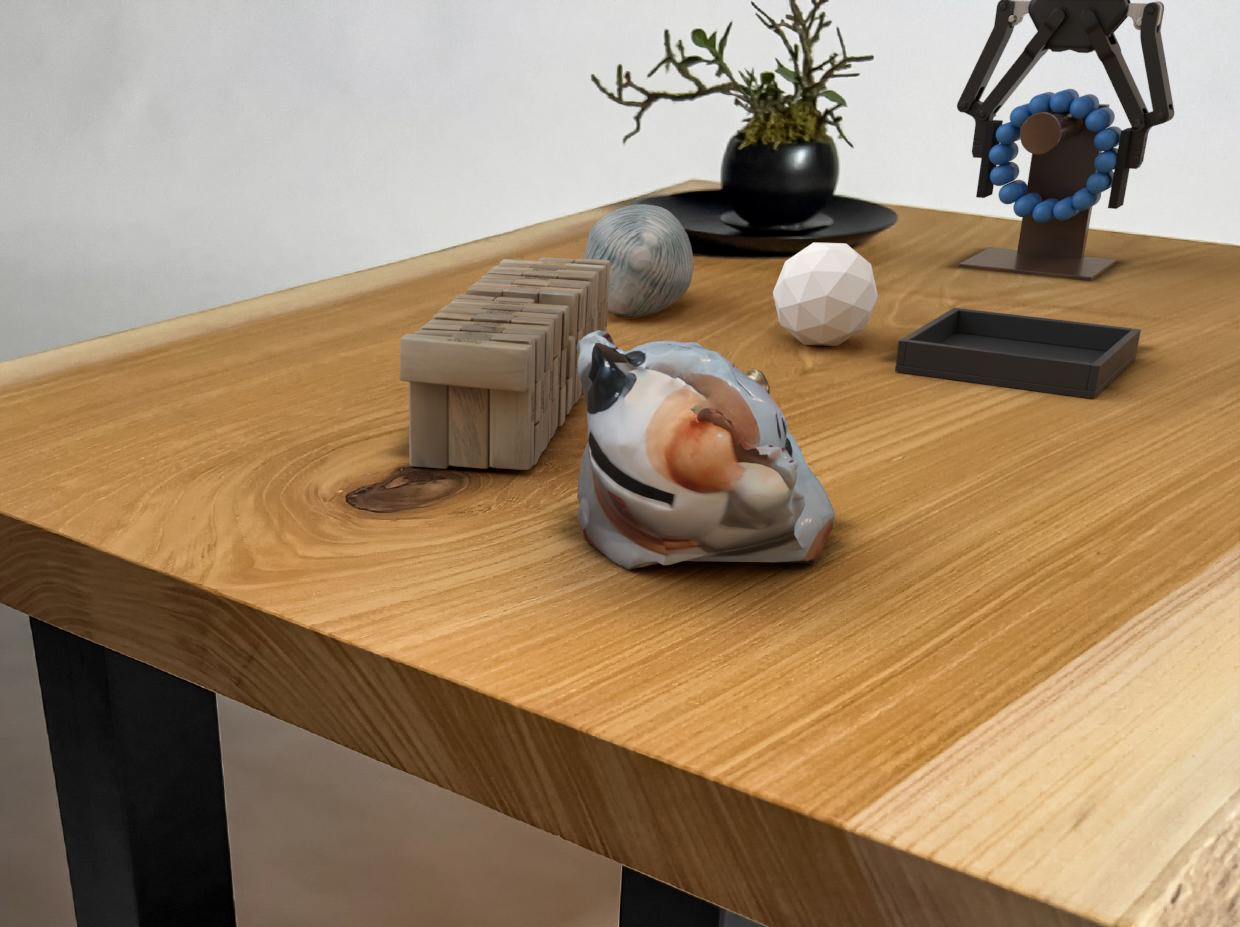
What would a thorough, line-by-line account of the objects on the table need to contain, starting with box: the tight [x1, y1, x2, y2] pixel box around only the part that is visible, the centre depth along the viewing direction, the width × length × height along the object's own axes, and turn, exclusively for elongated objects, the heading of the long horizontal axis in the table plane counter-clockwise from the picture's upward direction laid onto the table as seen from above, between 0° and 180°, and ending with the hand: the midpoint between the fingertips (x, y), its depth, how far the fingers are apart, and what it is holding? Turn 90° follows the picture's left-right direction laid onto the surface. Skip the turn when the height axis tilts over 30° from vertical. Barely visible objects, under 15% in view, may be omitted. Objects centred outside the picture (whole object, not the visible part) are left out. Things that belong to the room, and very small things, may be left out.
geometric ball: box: [772, 242, 879, 347], centre depth 123 cm, size 8×8×8 cm
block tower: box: [399, 256, 610, 471], centre depth 105 cm, size 8×8×29 cm
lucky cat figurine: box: [576, 330, 835, 570], centre depth 80 cm, size 15×12×14 cm
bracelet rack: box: [957, 103, 1117, 282], centre depth 146 cm, size 12×12×15 cm
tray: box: [894, 307, 1142, 400], centre depth 118 cm, size 14×13×2 cm
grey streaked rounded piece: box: [584, 203, 694, 320], centre depth 135 cm, size 14×10×10 cm
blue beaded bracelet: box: [989, 88, 1123, 223], centre depth 145 cm, size 11×5×11 cm, turn 58°
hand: (1048, 201), depth 147 cm, fingers closed on blue beaded bracelet, 11 cm apart
